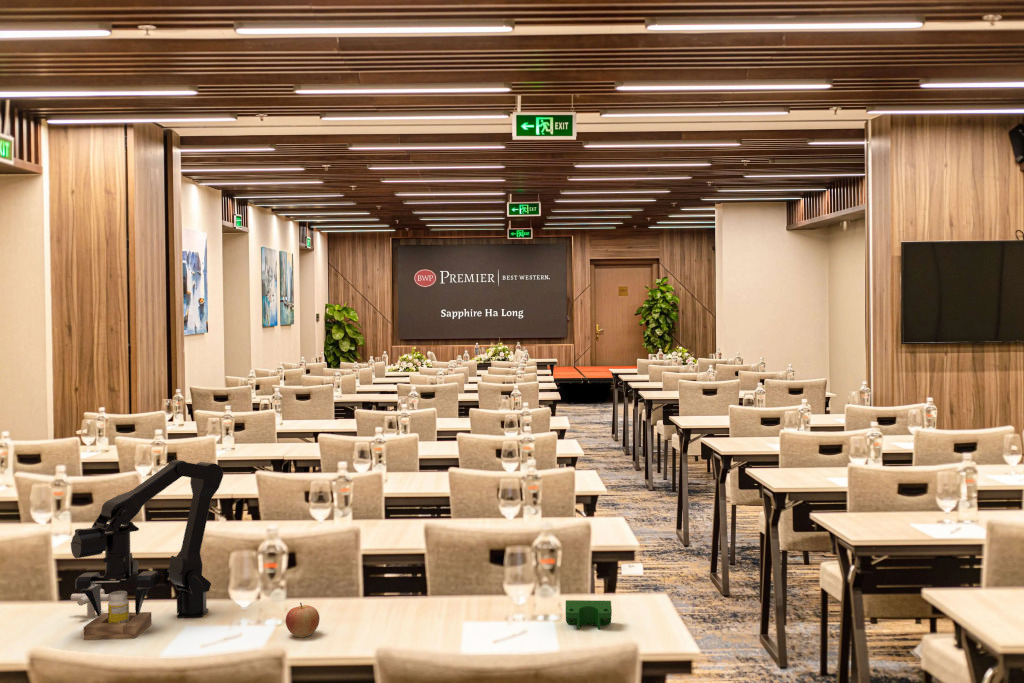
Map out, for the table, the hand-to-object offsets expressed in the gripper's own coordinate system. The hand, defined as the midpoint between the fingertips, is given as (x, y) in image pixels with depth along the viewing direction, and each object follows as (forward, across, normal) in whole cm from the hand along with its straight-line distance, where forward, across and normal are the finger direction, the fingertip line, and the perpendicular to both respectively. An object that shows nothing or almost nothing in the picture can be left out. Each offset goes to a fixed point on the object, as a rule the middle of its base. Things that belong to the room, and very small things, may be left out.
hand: (118, 615), depth 235 cm
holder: (+4, 0, 0) cm, 4 cm away
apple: (+4, -46, +7) cm, 47 cm away
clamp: (+4, -115, +6) cm, 115 cm away
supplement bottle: (+3, 0, 0) cm, 3 cm away
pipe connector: (+4, +12, -14) cm, 19 cm away
